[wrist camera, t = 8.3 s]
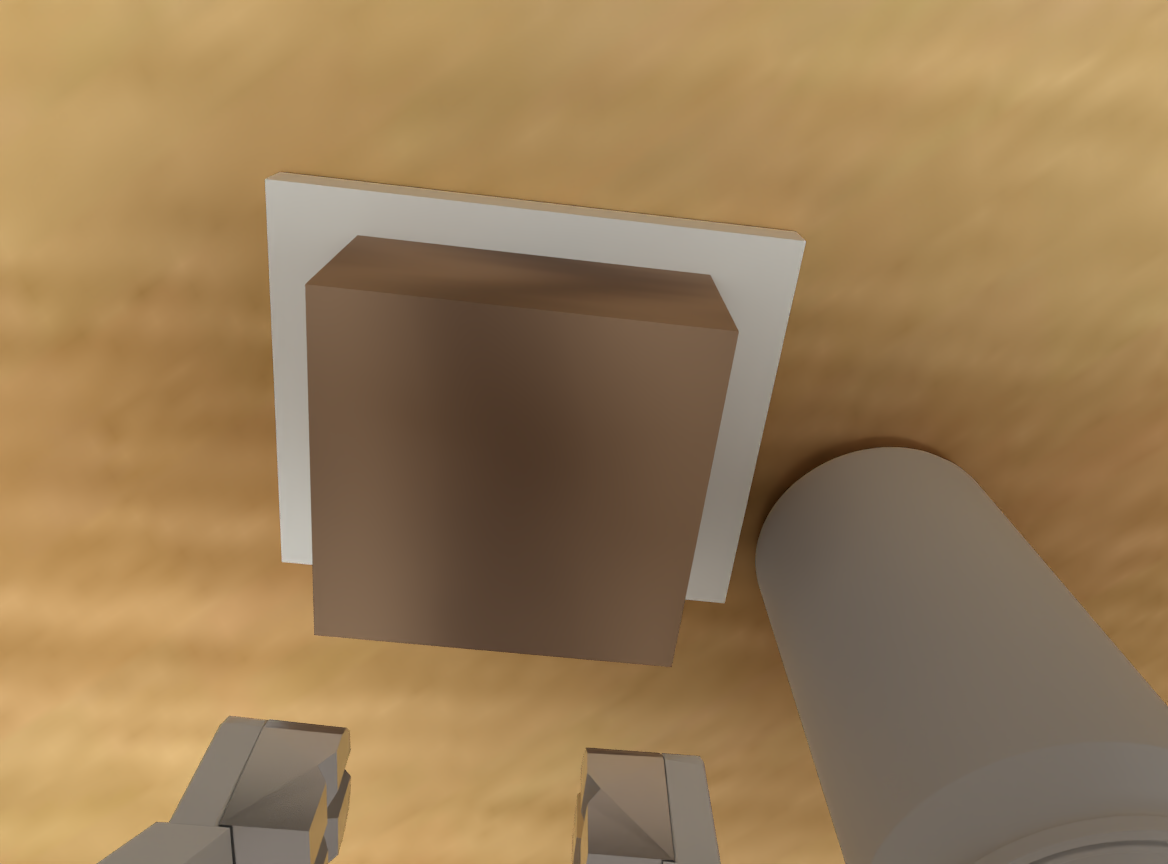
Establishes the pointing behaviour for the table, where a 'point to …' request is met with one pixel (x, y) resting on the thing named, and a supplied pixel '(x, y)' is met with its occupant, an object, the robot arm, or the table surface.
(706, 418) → the walnut block
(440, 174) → the table surface
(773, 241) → the base board
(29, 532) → the table surface
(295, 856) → the robot arm
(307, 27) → the table surface
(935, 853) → the beverage can
